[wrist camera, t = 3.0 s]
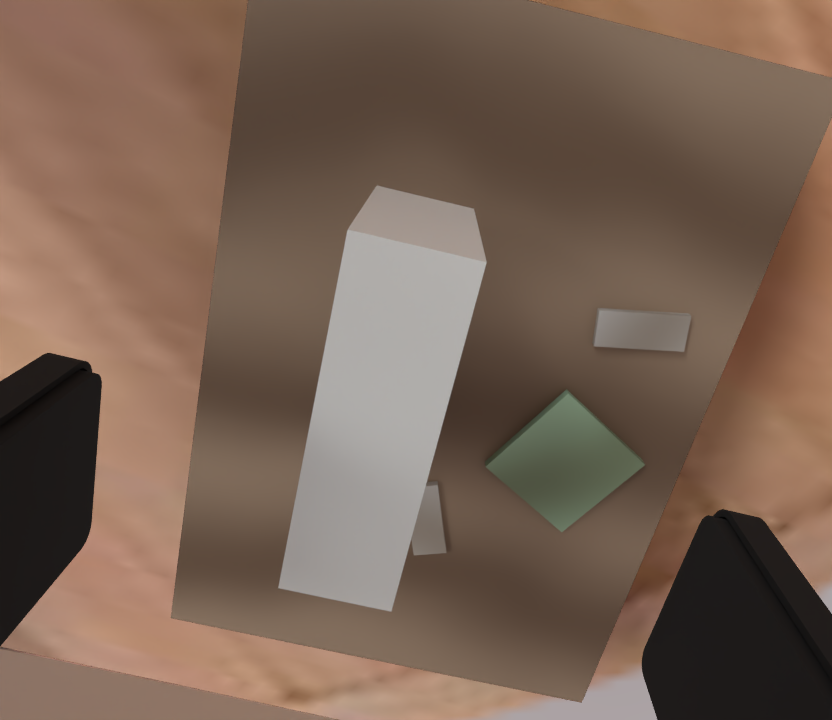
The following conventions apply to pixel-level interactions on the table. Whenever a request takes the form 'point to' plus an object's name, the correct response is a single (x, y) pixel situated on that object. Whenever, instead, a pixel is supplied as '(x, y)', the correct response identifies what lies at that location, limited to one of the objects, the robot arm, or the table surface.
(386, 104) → the brown slab
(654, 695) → the robot arm
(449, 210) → the peg
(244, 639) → the table surface
